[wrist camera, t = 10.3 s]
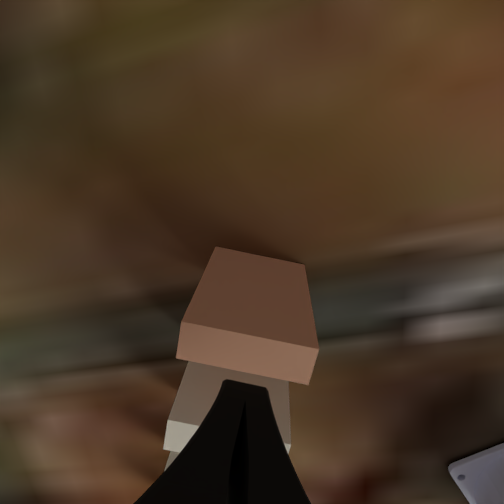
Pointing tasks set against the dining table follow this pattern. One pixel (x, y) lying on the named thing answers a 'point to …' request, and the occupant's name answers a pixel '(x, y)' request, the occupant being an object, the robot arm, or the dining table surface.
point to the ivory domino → (204, 394)
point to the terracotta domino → (251, 317)
